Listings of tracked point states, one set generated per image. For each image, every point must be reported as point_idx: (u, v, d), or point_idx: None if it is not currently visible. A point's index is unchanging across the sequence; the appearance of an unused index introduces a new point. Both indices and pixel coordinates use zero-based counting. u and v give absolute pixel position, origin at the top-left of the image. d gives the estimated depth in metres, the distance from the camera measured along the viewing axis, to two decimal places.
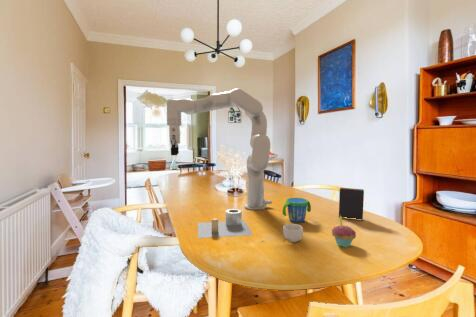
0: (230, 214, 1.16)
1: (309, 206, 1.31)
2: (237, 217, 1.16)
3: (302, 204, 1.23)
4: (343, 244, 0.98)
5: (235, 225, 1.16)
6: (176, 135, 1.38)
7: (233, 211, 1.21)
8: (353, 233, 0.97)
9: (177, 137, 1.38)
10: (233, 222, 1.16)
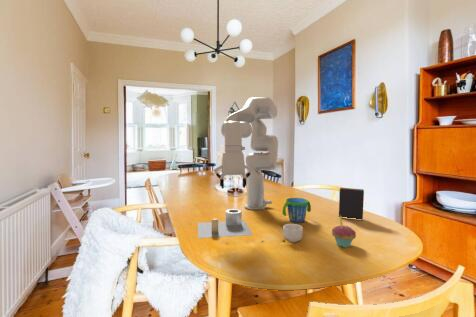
0: (230, 214, 1.16)
1: (309, 206, 1.31)
2: (237, 217, 1.16)
3: (302, 204, 1.23)
4: (343, 244, 0.98)
5: (235, 225, 1.16)
6: None
7: (233, 211, 1.21)
8: (353, 233, 0.97)
9: None
10: (233, 222, 1.16)
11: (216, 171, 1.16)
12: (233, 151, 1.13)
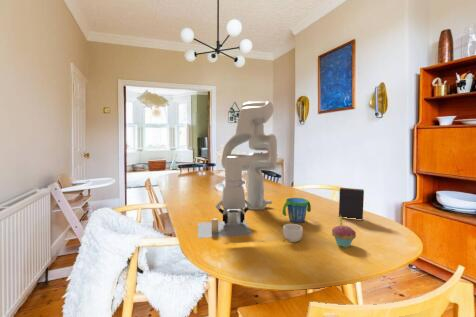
0: (230, 214, 1.16)
1: (309, 206, 1.31)
2: (237, 217, 1.16)
3: (302, 204, 1.23)
4: (343, 244, 0.98)
5: (235, 225, 1.16)
6: None
7: (233, 211, 1.21)
8: (353, 233, 0.97)
9: None
10: (233, 222, 1.16)
11: (218, 207, 1.17)
12: (233, 186, 1.14)
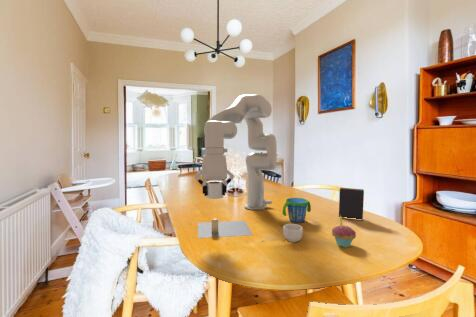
0: (210, 185, 1.04)
1: (309, 206, 1.31)
2: (218, 188, 1.04)
3: (302, 204, 1.23)
4: (343, 244, 0.98)
5: (216, 197, 1.04)
6: None
7: (214, 183, 1.10)
8: (353, 233, 0.97)
9: None
10: (213, 194, 1.04)
11: (197, 177, 1.06)
12: (214, 154, 1.03)
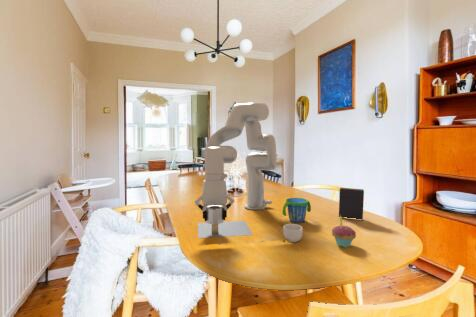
0: (210, 210, 1.05)
1: (309, 206, 1.31)
2: (218, 214, 1.05)
3: (302, 204, 1.23)
4: (343, 244, 0.98)
5: (216, 222, 1.05)
6: None
7: (215, 207, 1.10)
8: (353, 233, 0.97)
9: None
10: (214, 219, 1.05)
11: (197, 203, 1.06)
12: (214, 180, 1.03)
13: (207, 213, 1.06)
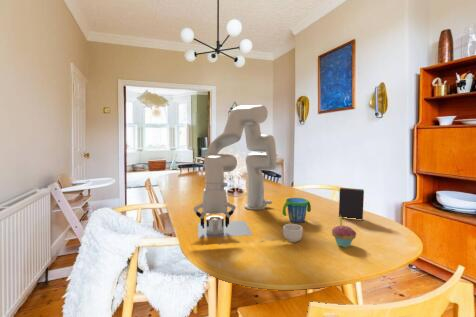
0: (211, 222, 1.06)
1: (309, 206, 1.31)
2: (218, 225, 1.06)
3: (302, 204, 1.23)
4: (343, 244, 0.98)
5: (216, 234, 1.06)
6: None
7: None
8: (353, 233, 0.97)
9: None
10: (214, 230, 1.06)
11: (196, 210, 1.07)
12: (214, 189, 1.04)
13: (207, 224, 1.07)
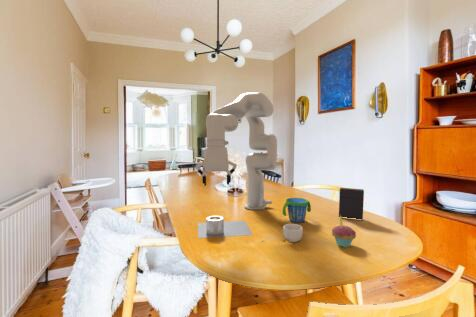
0: (211, 222, 1.06)
1: (309, 206, 1.31)
2: (218, 225, 1.06)
3: (302, 204, 1.23)
4: (343, 244, 0.98)
5: (216, 234, 1.06)
6: None
7: None
8: (353, 233, 0.97)
9: None
10: (214, 230, 1.06)
11: (198, 167, 1.09)
12: (215, 146, 1.06)
13: (207, 224, 1.07)
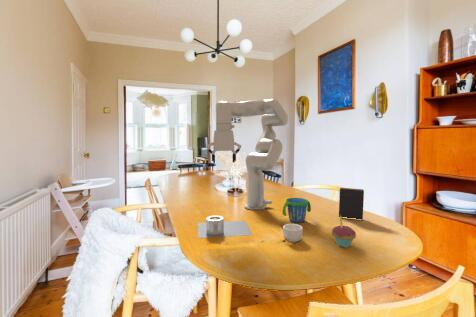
0: (211, 222, 1.06)
1: (309, 206, 1.31)
2: (218, 225, 1.06)
3: (302, 204, 1.23)
4: (343, 244, 0.98)
5: (216, 234, 1.06)
6: None
7: None
8: (353, 233, 0.97)
9: None
10: (214, 230, 1.06)
11: (208, 147, 1.27)
12: (223, 128, 1.24)
13: (207, 224, 1.07)
